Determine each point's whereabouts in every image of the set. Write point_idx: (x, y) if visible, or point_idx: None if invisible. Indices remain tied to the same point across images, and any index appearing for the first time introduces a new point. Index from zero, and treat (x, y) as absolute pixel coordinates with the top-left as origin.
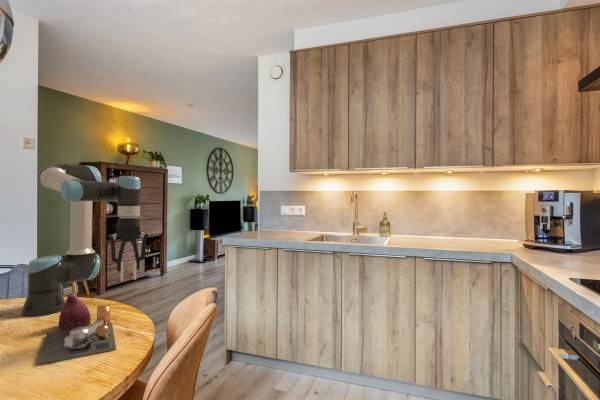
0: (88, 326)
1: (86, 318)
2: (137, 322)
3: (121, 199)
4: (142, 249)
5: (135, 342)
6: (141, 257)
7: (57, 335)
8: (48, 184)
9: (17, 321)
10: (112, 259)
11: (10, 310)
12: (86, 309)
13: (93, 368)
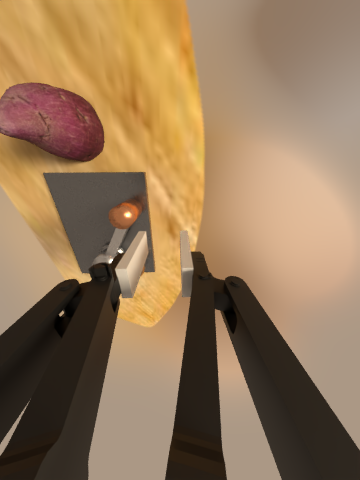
0: (112, 245)
1: (92, 149)
2: (188, 178)
3: None
4: (246, 374)
5: (176, 259)
6: (222, 309)
7: (68, 197)
8: None
9: None
10: (69, 318)
11: None
12: (78, 135)
13: (138, 296)
